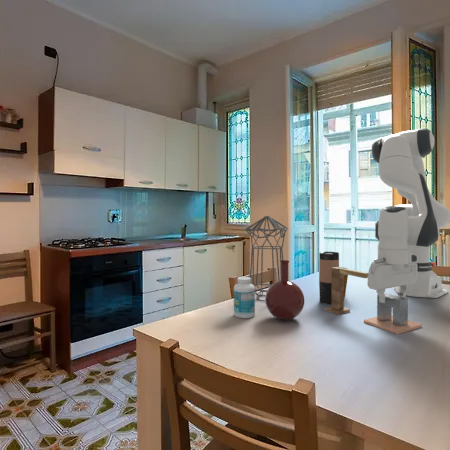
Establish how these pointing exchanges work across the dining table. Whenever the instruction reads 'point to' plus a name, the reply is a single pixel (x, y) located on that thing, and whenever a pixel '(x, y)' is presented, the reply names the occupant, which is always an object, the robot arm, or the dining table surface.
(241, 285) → the pill bottle
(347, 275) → the disposable coffee cup
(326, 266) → the travel mug
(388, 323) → the tile
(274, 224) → the geometric lantern
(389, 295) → the brushed grey metal block
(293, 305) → the round-bottom flask
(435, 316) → the dining table surface
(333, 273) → the stand
